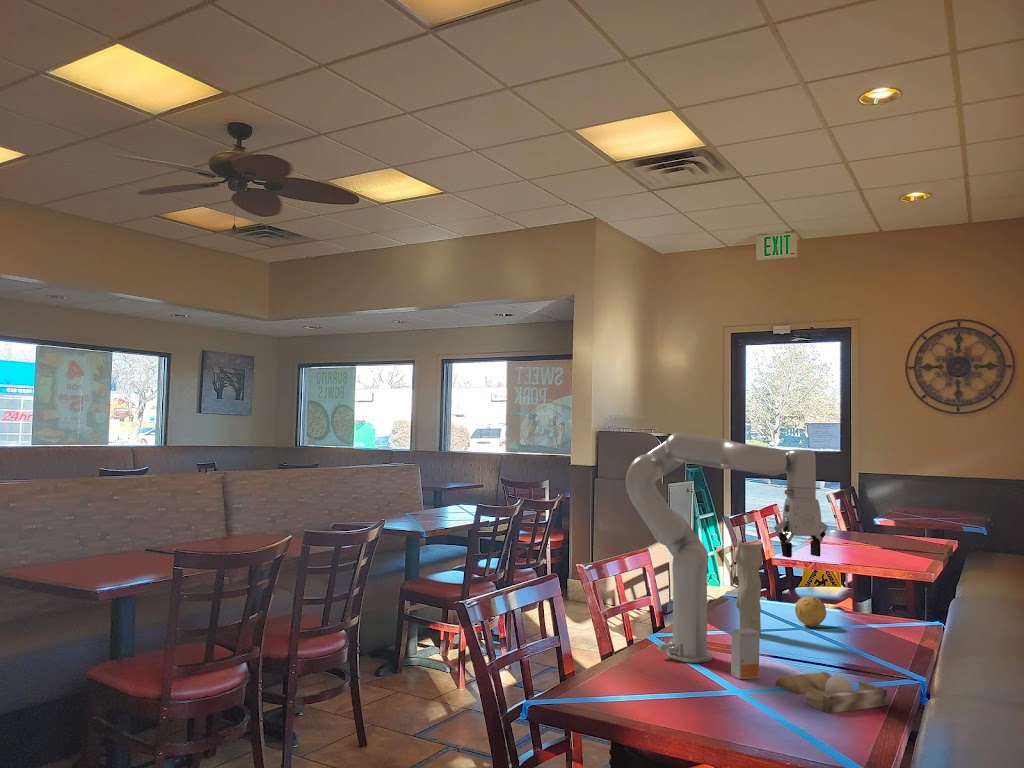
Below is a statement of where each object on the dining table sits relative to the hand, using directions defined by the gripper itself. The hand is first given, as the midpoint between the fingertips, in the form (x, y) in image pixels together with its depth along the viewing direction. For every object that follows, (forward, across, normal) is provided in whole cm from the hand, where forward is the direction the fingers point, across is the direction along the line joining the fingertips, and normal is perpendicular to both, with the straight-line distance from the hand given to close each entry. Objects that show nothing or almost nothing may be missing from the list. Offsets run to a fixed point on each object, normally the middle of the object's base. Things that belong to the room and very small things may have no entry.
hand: (801, 556), depth 215 cm
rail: (+30, -10, -26) cm, 41 cm away
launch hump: (+35, -10, -13) cm, 39 cm away
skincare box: (+31, -20, -2) cm, 37 cm away
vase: (+31, +10, +36) cm, 48 cm away
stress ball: (+31, +37, +39) cm, 62 cm away
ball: (+27, -10, -25) cm, 38 cm away
